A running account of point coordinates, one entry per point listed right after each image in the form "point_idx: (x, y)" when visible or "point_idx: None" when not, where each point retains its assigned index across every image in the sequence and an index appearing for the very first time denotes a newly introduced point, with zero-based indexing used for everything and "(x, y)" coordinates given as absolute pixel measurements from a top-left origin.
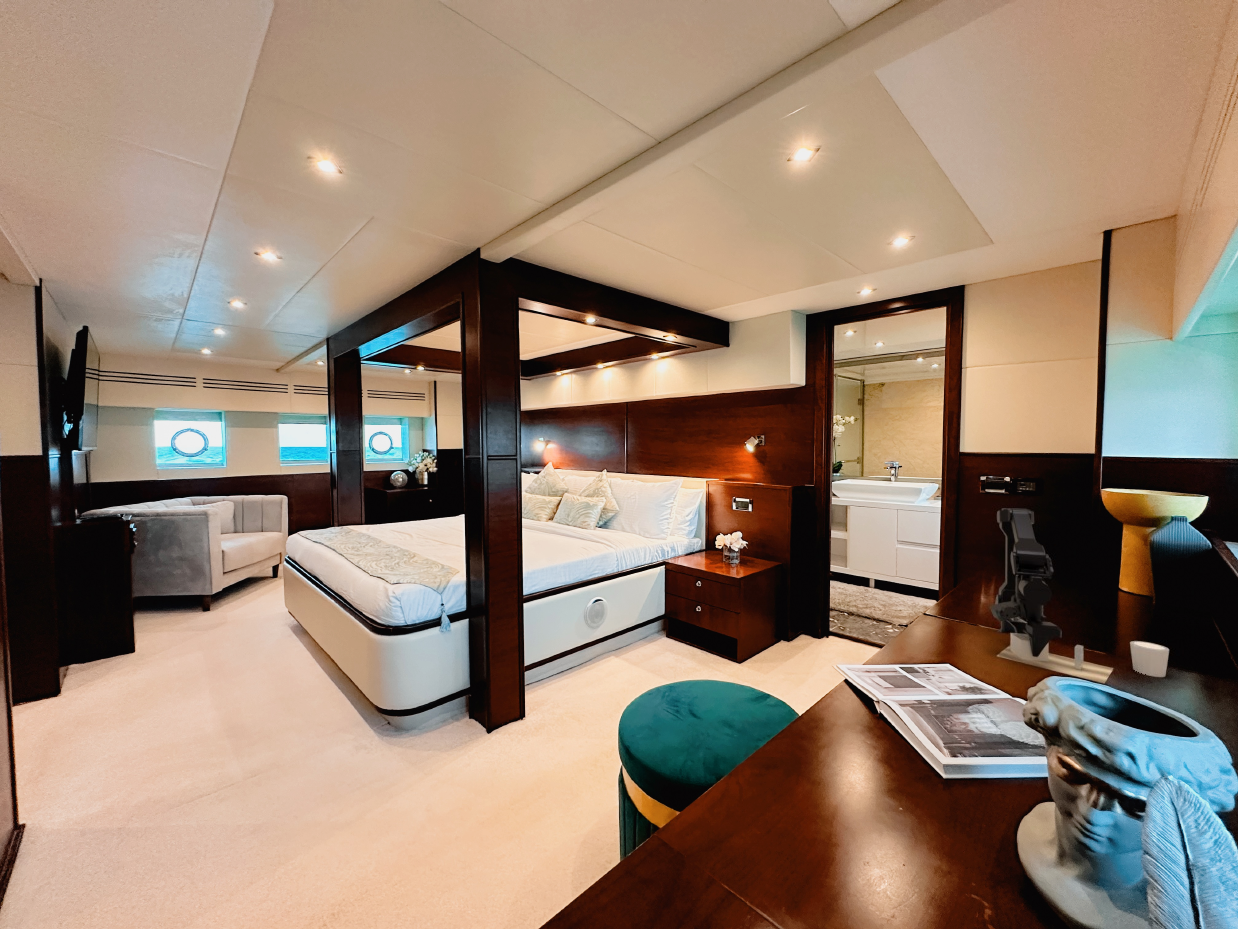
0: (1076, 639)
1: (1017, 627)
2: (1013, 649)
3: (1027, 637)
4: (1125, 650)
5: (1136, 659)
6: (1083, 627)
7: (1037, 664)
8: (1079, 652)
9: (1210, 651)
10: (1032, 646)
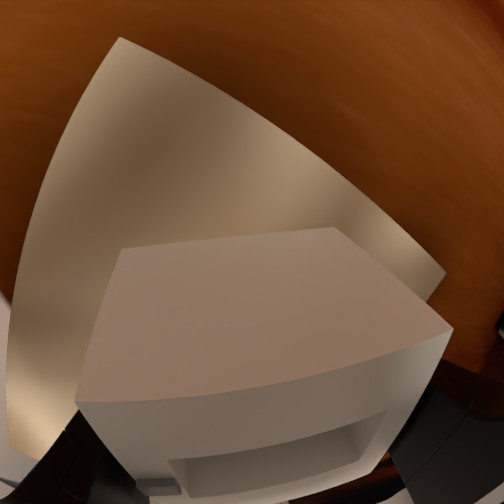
0: None
1: (475, 434)
2: (290, 245)
3: (357, 431)
4: (391, 471)
5: None
6: None
7: (51, 323)
8: None
9: (379, 501)
10: (71, 420)
